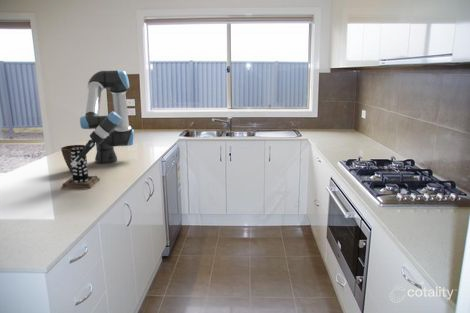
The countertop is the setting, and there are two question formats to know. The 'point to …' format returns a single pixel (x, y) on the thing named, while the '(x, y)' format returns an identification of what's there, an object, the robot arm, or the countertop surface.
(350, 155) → the countertop surface
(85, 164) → the white-spotted black cylinder
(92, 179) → the walnut board
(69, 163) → the plant pot
